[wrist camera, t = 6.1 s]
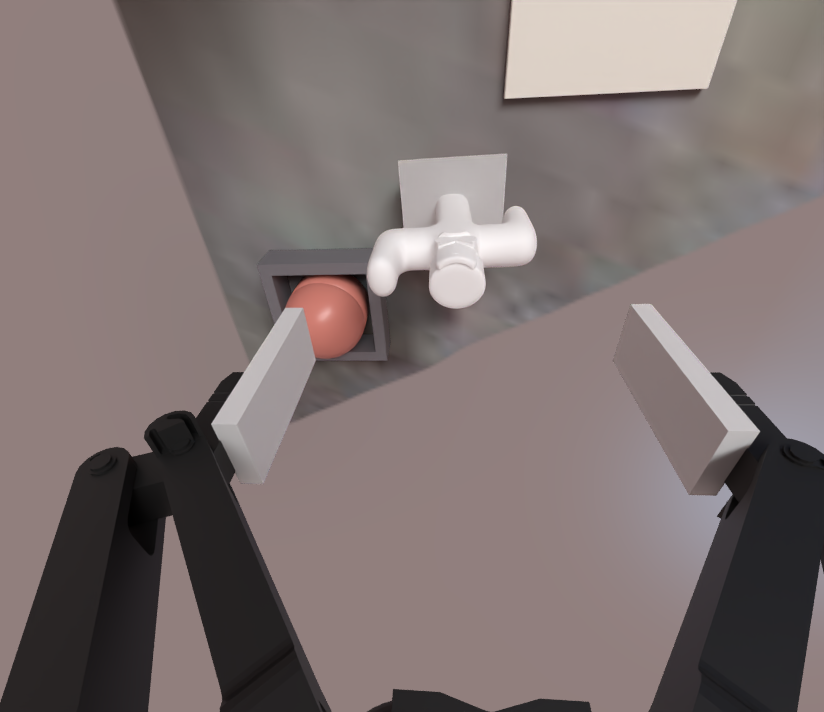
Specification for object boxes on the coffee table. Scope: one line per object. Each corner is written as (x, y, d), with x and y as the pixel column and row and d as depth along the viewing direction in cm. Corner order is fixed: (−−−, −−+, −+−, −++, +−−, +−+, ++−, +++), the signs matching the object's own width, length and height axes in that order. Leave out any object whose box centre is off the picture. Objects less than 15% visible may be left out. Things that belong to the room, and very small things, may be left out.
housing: (269, 250, 35) (256, 264, 33) (381, 247, 34) (376, 262, 32) (294, 342, 41) (285, 360, 39) (390, 342, 40) (387, 360, 38)
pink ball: (289, 265, 36) (261, 304, 30) (366, 264, 35) (351, 303, 30) (305, 330, 40) (283, 375, 35) (374, 330, 40) (363, 375, 34)
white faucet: (508, 239, 33) (545, 342, 21) (396, 244, 34) (372, 346, 22) (516, 142, 29) (568, 204, 17) (387, 151, 30) (351, 215, 18)
